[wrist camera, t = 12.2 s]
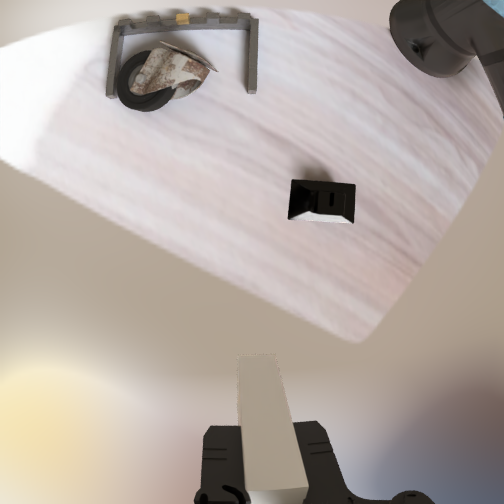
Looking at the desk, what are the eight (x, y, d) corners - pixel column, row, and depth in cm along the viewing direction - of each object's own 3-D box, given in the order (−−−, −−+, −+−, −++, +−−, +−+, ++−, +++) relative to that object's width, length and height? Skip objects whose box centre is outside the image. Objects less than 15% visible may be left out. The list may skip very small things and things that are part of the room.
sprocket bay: (257, 24, 37) (259, 13, 34) (255, 94, 40) (257, 87, 36) (118, 31, 36) (110, 21, 32) (110, 98, 38) (101, 93, 35)
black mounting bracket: (364, 179, 44) (377, 181, 40) (359, 229, 46) (372, 235, 41) (279, 172, 43) (285, 172, 39) (276, 225, 45) (281, 231, 40)
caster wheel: (124, 100, 41) (157, 41, 38) (183, 132, 41) (221, 68, 37) (97, 94, 34) (134, 27, 31) (161, 128, 34) (204, 53, 31)
